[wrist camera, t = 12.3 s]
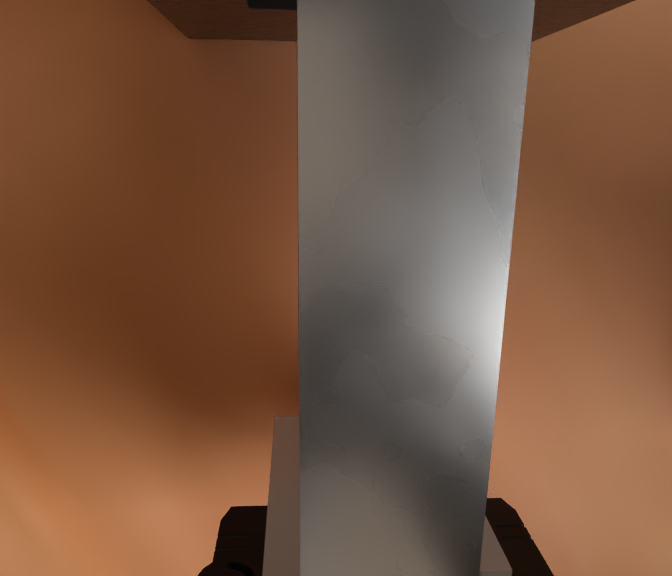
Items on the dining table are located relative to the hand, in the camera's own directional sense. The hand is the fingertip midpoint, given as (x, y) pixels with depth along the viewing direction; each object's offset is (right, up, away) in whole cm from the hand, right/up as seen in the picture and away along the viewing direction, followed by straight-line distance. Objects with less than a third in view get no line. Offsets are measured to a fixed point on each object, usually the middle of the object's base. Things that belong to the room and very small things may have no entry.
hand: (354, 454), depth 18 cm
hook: (0, +6, -4) cm, 8 cm away
